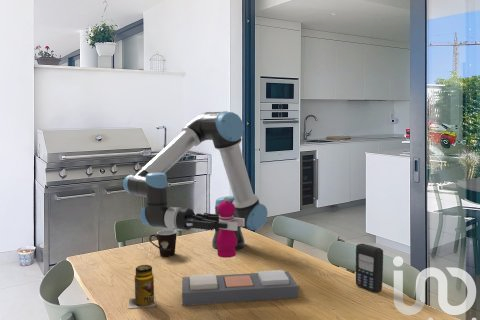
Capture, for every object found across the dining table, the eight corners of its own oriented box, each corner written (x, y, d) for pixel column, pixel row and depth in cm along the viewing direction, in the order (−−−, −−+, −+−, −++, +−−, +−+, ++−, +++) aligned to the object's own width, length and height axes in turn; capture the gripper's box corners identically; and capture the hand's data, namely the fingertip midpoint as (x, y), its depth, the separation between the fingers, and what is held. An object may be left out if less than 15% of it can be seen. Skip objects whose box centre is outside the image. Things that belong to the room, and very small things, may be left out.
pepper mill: (221, 259, 141) (221, 199, 140) (212, 253, 148) (211, 196, 146) (241, 256, 145) (240, 197, 143) (231, 250, 151) (230, 194, 149)
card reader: (353, 285, 152) (354, 244, 151) (360, 283, 155) (361, 242, 153) (375, 294, 145) (376, 250, 144) (383, 291, 147) (384, 248, 146)
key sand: (189, 283, 149) (189, 275, 149) (215, 282, 151) (215, 273, 150) (190, 294, 141) (189, 285, 140) (217, 292, 142) (217, 283, 141)
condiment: (155, 306, 138) (154, 269, 137) (128, 309, 136) (127, 272, 135) (155, 297, 145) (153, 262, 144) (129, 299, 143) (127, 264, 142)
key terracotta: (224, 285, 151) (224, 276, 151) (249, 283, 152) (249, 275, 152) (226, 295, 142) (226, 286, 142) (253, 293, 143) (253, 285, 143)
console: (182, 288, 152) (182, 277, 151) (288, 281, 157) (288, 271, 156) (182, 305, 138) (182, 293, 138) (298, 297, 143) (298, 286, 142)
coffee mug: (181, 253, 191) (180, 231, 190) (168, 258, 184) (167, 236, 183) (161, 249, 197) (161, 227, 196) (148, 254, 190) (147, 232, 189)
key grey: (258, 279, 152) (258, 271, 152) (283, 278, 153) (283, 270, 153) (262, 289, 143) (262, 280, 143) (289, 288, 145) (289, 279, 144)
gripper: (193, 223, 161) (251, 229, 152) (166, 235, 145) (229, 242, 135) (193, 203, 160) (250, 208, 151) (165, 213, 144) (228, 219, 135)
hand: (240, 224), depth 143 cm, fingers closed on pepper mill, 5 cm apart
